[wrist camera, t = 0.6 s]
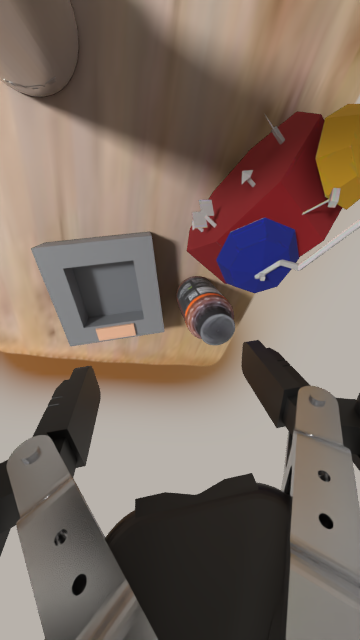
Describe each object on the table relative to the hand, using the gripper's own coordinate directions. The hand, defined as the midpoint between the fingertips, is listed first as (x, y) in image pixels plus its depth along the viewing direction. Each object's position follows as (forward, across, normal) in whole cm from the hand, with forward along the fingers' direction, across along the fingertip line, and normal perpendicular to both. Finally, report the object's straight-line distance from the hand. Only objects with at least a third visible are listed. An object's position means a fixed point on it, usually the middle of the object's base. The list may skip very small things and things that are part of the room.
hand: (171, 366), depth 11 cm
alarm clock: (+22, -10, -8) cm, 25 cm away
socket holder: (+21, +6, +1) cm, 22 cm away
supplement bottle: (+22, -6, +4) cm, 23 cm away
